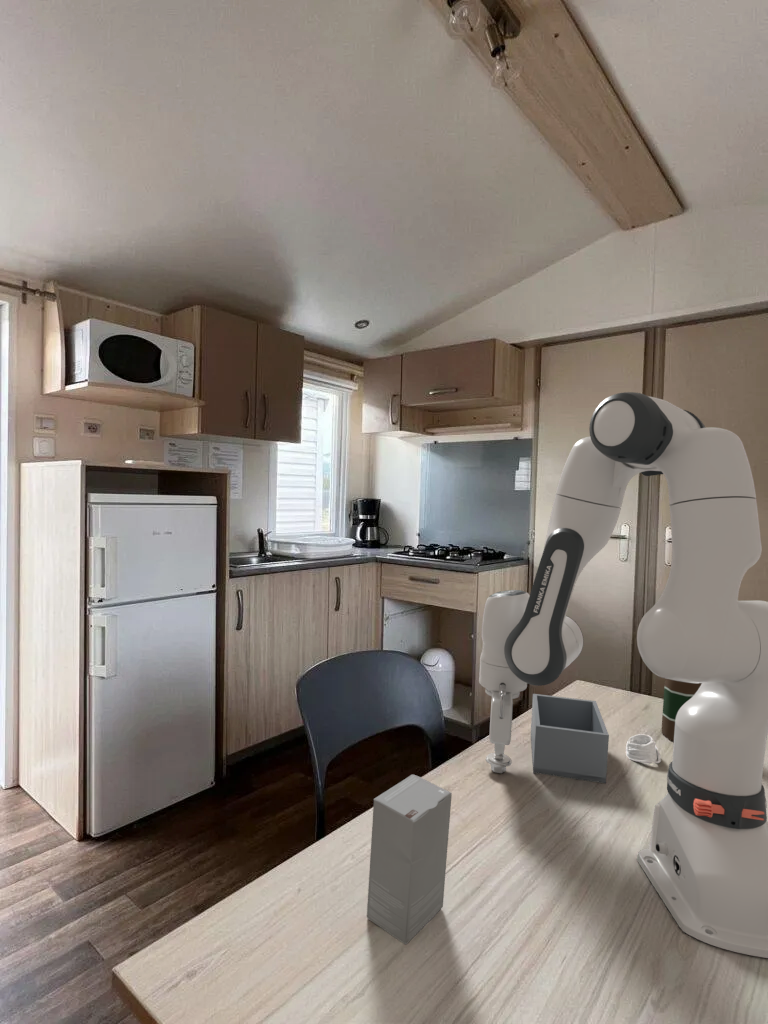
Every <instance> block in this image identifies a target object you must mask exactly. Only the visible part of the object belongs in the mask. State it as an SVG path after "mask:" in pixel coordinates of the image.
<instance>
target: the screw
mask: <svg viewBox="0 0 768 1024" xmlns="http://www.w3.org/2000/svg"><path fill="white" fill-rule="evenodd" d="M500 719H501V718H500ZM502 719H503V718H502ZM493 745H494V749H495V744H493ZM485 761H486V763H488V764H489V765H490V769H491V771H492V772H493V773H496V774H497V773H498V774H503V773H504V772H506V771H507V767H509V766H511V765H512V764H513V760H512V758H511V757H510V756H509V755H508V754H506V753H505V752H504V753H503V754H499V753H496V752H495V751H494V752H490V753H488V754H487V755H486V756H485Z"/></svg>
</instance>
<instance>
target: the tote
mask: <svg viewBox="0 0 768 1024" xmlns="http://www.w3.org/2000/svg"><path fill="white" fill-rule="evenodd" d="M531 706H532V707H531V718H530V719H531V721H530V723H531V724H530V745H531V747H530V748H531V759H532V773H533V774H539V775H547V776H552V777H560V778H567V779H574V780H580V781H587V782H588V781H589V782H595V783H601V784H606V783H607V774H608V773H607V771H608V756H609V741H610V740H609V739H610V735H609V732H608V729H607V727H606V724H605V722H604V719H603V717H602V714H601V711H600V709H599V705H598V702H597V701H596V700H591V699H581V698H573V697H564V696H557V695H556V696H555V695H548V694H547V695H546V694H540V693H532V705H531Z"/></svg>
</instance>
